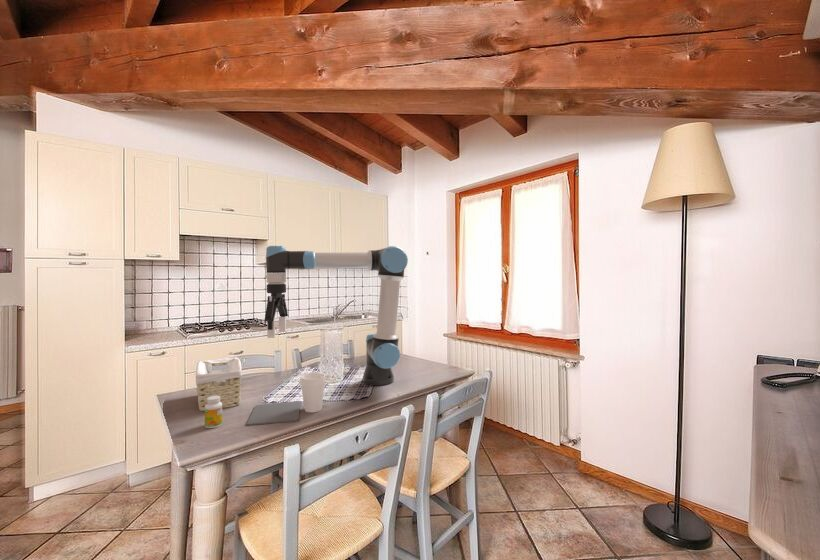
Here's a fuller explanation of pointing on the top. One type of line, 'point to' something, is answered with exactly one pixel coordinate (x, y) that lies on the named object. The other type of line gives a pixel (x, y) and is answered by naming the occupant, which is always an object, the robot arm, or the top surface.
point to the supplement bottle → (213, 412)
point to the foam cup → (313, 390)
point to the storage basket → (219, 382)
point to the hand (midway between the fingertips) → (277, 334)
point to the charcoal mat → (274, 413)
